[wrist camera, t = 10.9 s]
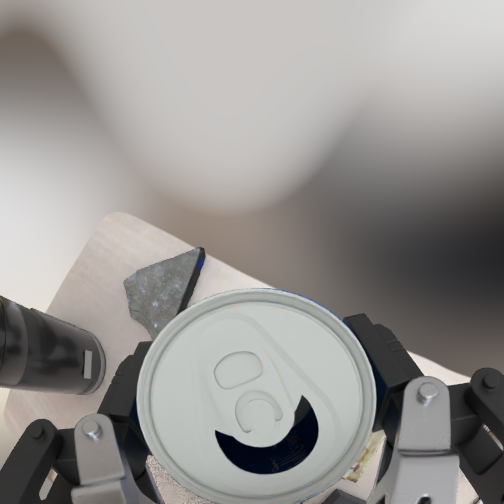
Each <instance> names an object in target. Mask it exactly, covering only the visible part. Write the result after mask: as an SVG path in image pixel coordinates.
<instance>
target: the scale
mask: <svg viewBox="0 0 504 504" xmlns="http://www.w3.org/2000/svg"><path fill="white" fill-rule="evenodd" d="M366 503H367V502H366V501H364V500H361V499H359V498H356V497H354V496H352V495H349V494H347V493H345V492H343V491H341V490H338V489H336V490H335V491H334V492H333V493H332V494H331V496H330V497H329V498H328V499H326V500H325V501H324V502H323V503H322V504H366Z"/></svg>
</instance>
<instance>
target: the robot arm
mask: <svg viewBox="0 0 504 504" xmlns="http://www.w3.org/2000/svg"><path fill="white" fill-rule="evenodd" d="M343 322H344V323H345V324H346V325H347V326H348V328H349V329H350V330H351V331H352V333H353V334H354V335H355V336H356V338H357V339H358V341H359V343H360V344H361V346H362V348H363V349H364V351H365V353H366V356H367V358H368V360H369V363H370V365H371V368H372V372H373V376H374V380H375V388H376V412H375V418H374V424H373V427H372V432H373V433H374V432H378V431H381V430H384V433H385V435H386V438H385V441H384V445H383V450H382V454H381V459H380V463H379V467H378V471H377V475H376V479H375V482H374V486H373V489H372V491H371V494H370V496H369V498H368V500H367V503H366V504H455V503H456V496H457V488H458V477H459V467H460V469H461V470H462V472H463V473H464V475H465V476H466V478H467V479H468V481H469V482H470V484H471V485H472V487H473V488H474V490H475V491H476V493H477V494H478V496H479V497H480V499H481V501H482V502H483V504H504V375H503V374H502V373H501V372H499V371H498V370H495V369H493V368H482V369H479V370H477V371H476V372H475V373H474V374H473V376H472V378H471V380H470V382H469V383H463V384H457V385H450V386H446V385H445V384H444V383H443V382H442V381H441V380H439V379H437V378H435V377H431V376H424V374H423V373H422V372H421V370H420V369H419V368H418V366H417V365H416V363H415V362H414V361H413V359H412V358H411V357H410V355H409V354H408V353H407V351H406V350H405V349H403V346H402V345H401V343H400V342H399V341H397V338H396V337H395V335H394V334H393V333H392V332H391V330H389V329H388V328H386V327H384V326H382V325H381V324H376V325H373V324H372V323H371V321H370V320H369V318H368V317H367V316H366V314H364V313H363V314H358V315H354V316H349V317H344V319H343ZM153 342H154V341H144V342H140V343H139V344H138V346H137V348H136V350H135V352H134V354H133V355H129V356H128V357H127V358H126V359H125V360H124V361H123V362H122V363H121V364H120V365H119V367H118V369H117V371H116V373H115V376H114V377H113V380H112V384H110V386H109V388H108V390H107V392H106V394H105V396H104V399H103V401H102V403H101V405H100V407H99V410H98V412H97V414H90V415H87V416H85V417H84V418H82V419H81V420H80V421H79V422H78V423H77V425H76V426H75V428H71V429H60V430H57V428H56V427H55V426H54V425H53V424H52V423H51V422H50V421H49V420H47V419H38V420H35V421H34V422H32V423H31V424H30V425H29V426H28V427H27V428H26V430H25V431H24V433H23V435H22V436H21V438H20V439H19V441H18V442H17V444H16V446H15V447H14V449H13V450H12V452H11V454H10V455H9V457H8V459H7V460H6V462H5V464H4V465H3V467H2V469H1V471H0V504H165V503H164V501H163V499H162V496H161V494H160V492H159V490H158V487H157V485H156V483H155V480H154V478H153V476H152V473H151V471H150V468H149V466H148V464H147V463H146V460H147V456H148V455H152V456H154V455H153V454H152V452H151V450H150V449H149V447H148V445H147V443H146V441H145V438H144V435H143V433H142V430H141V427H140V422H139V418H138V412H137V384H138V379H139V375H140V370H141V367H142V364H143V362H144V359H145V356H146V355H147V353H148V351H149V349H150V347H151V345H152V343H153ZM104 372H105V357H104V353H103V350H102V347H101V345H100V343H99V341H98V340H97V339H96V338H95V336H94V335H92V334H91V333H90V332H88V331H85V330H83V329H79V328H76V326H75V325H72V324H70V323H67V322H65V321H62V320H59V319H57V318H55V317H52V316H50V315H47V314H45V313H43V312H40V311H38V310H36V309H33V308H31V309H28V308H26V307H24V306H22V305H19V304H17V303H15V302H13V301H11V300H9V299H7V298H5V297H3V296H0V387H2V388H10V389H18V390H26V391H36V392H49V393H69V394H79V395H85V394H90V393H92V392H93V391H95V390H96V389H97V388H98V387H99V385H100V384H101V382H102V380H103V377H104ZM484 425H486V426H487V427H488V428H489V429H490V431H491V432H492V433H493V434H494V435H495V437H496V438H497V439H498V440H499V442H500V443H501V444H502V446H503V450H502V449H501V448H500V447H499V446H498V445H497V443H496V442H495V441H494V440H493V438H492V437H491V436H490V435H489V433H488V432H487V431H486V430H485V428H484V427H483V426H484ZM51 468H52V469H53V470H54V471H55V472H56V473H58V474H57V476H56V478H55V480H54V483H53V485H52V487H51V489H50V491H49V493H48V495H47V498H46V499H44V500H41V499H40V496H39V492H40V489H41V487H42V485H43V483H44V481H45V479H46V477H47V475H48V473H49V471H50V469H51Z"/></svg>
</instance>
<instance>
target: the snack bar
mask: <svg viewBox="0 0 504 504" xmlns="http://www.w3.org/2000/svg"><path fill="white" fill-rule="evenodd" d="M385 436H386V435H385V433H384V430H381V431H378V432H374V433H373V432H372V430H371V433H370V436H369V439H368V441H367V443H366V445H365V447H364V449H363V451H362V453H361V455H360V456H359V457H358V459H357V460H356V462H355V463H354V465H353V466H352V467H351V468H350V469H349V470H348V471H347V473H346V474H345V475H344V476H343V477H342V478H343V479H345V478H346V479H348V480H351V479H352V480H351V481H354V480H355V481H354V482H355V483H356V482H357V481H358V480H357V479H358V478H359V477H360V476H361V474H362V473H363V471H364V469H365V467H366V466H367V465H368V463H369V461H370V460H371V458H372V457H373V456H374V454H375V452H376V451H377V449H378V447H379V446H380V444H381V442H382V441H383V439H384V438H385Z"/></svg>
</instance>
